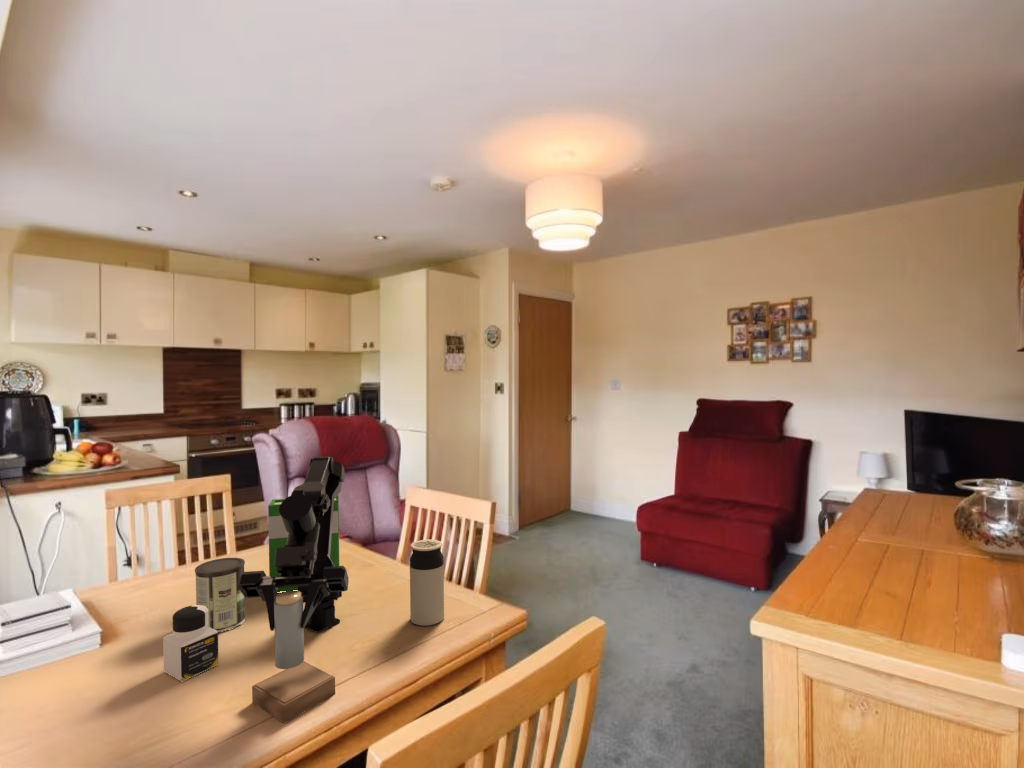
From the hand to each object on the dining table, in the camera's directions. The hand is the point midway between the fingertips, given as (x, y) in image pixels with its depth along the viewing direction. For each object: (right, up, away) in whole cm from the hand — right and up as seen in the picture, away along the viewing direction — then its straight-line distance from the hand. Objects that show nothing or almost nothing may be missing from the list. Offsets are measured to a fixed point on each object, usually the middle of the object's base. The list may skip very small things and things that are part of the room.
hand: (287, 628), depth 92 cm
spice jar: (0, -7, +1) cm, 7 cm away
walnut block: (+1, -13, +2) cm, 13 cm away
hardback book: (-18, -13, +54) cm, 58 cm away
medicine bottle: (-24, -14, +12) cm, 30 cm away
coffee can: (-29, -14, +31) cm, 45 cm away
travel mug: (+20, -13, +32) cm, 40 cm away
